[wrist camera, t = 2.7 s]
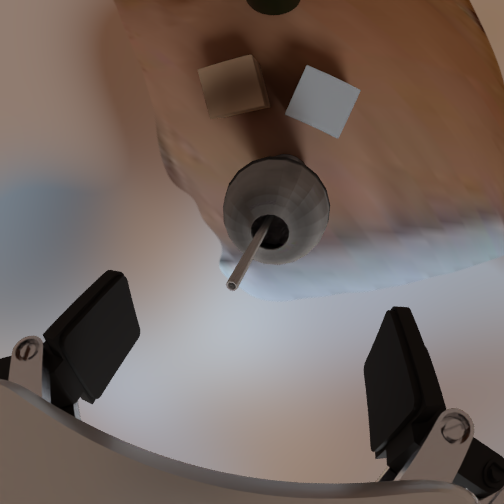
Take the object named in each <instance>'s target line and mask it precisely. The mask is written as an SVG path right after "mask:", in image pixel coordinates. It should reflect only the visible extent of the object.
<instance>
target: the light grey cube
mask: <svg viewBox="0 0 504 504" xmlns="http://www.w3.org/2000/svg"><path fill="white" fill-rule="evenodd" d="M360 91H361V90H359V89H357V88H355V87H353V86H351V85H349V84H347V83H345V82H343V81H341V80H339V79H337V78H335V77H333V76H331V75H329V74H326V73H324V72H322V71H320V70H317V69H315V68H313V67H310V66H308V65H307V66H306V68H305V70H304V72H303V75H302V77H301V79H300V81H299V83H298V86H297V88H296V90H295V92H294V95H293V97H292V99H291V101H290V104H289V106H288V108H287V110H286V113H285V115H288V116H290V117H292V118H295V119H297V120H299V121H301V122H304V123H306V124H308V125H310V126H313V127H315V128H317V129H319V130H321V131H323V132H325V133H327V134H329V135H331V136H333V137H335V138H337V139H338V138H339V136H340V134H341V132H342V130H343V127H344V125H345V123H346V121H347V119H348V117H349V115H350V113H351V110H352V108H353V106H354V104H355V102H356V100H357V97H358V95H359V93H360Z"/></svg>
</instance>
